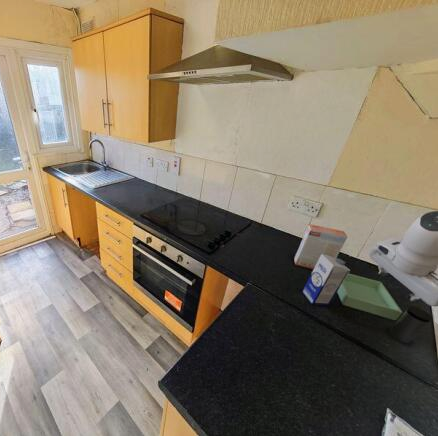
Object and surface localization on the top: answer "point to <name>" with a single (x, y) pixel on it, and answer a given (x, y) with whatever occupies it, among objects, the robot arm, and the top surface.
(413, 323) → the food flask
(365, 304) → the square green tray
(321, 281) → the milk carton
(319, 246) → the cracker box
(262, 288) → the top surface
